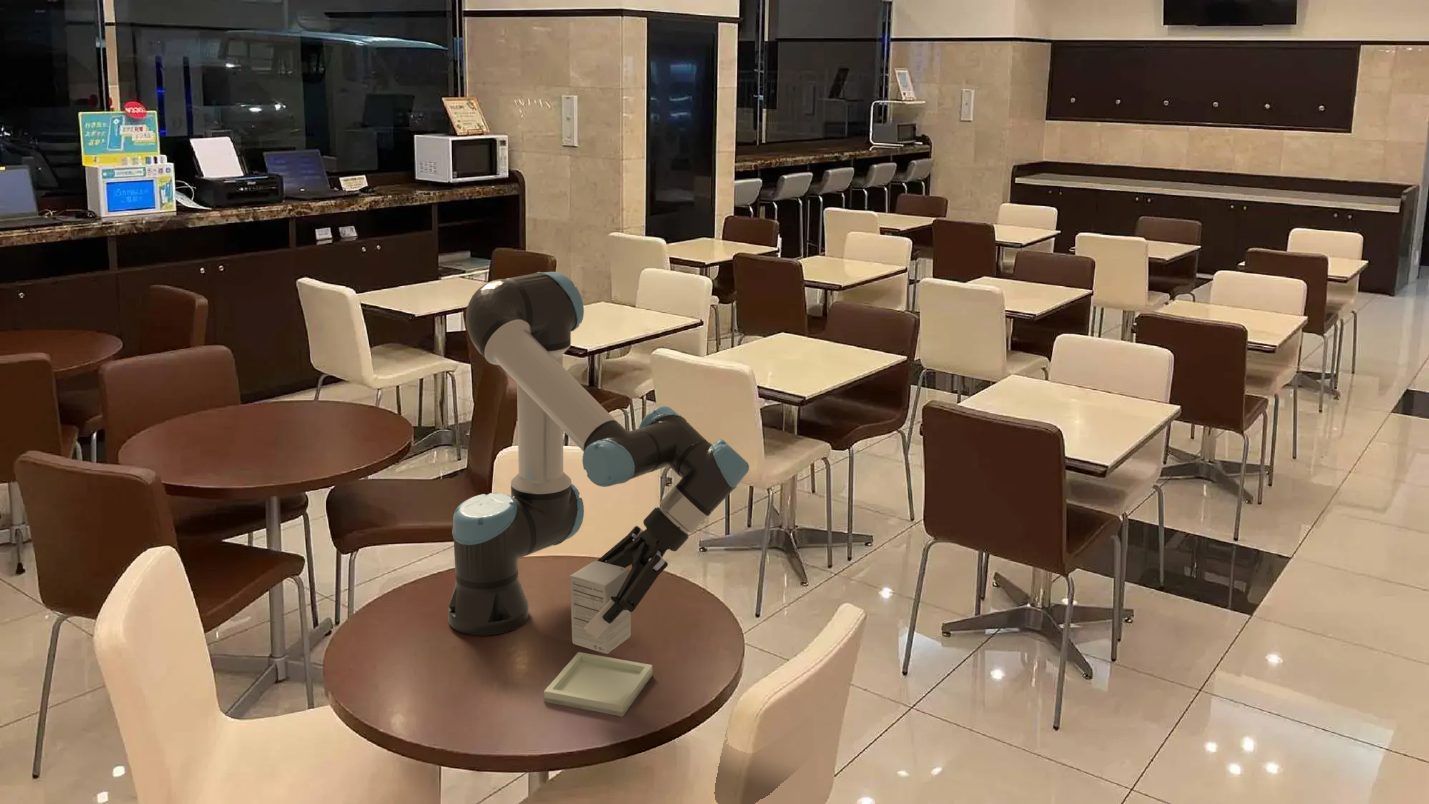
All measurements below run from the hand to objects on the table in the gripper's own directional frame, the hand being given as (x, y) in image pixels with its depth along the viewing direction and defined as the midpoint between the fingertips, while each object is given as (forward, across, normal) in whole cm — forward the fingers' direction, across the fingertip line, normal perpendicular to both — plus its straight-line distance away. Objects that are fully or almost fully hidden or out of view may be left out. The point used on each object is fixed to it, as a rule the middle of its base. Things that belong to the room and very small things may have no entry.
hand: (583, 618), depth 196 cm
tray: (+8, 0, -12) cm, 14 cm away
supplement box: (+1, 0, -6) cm, 6 cm away
